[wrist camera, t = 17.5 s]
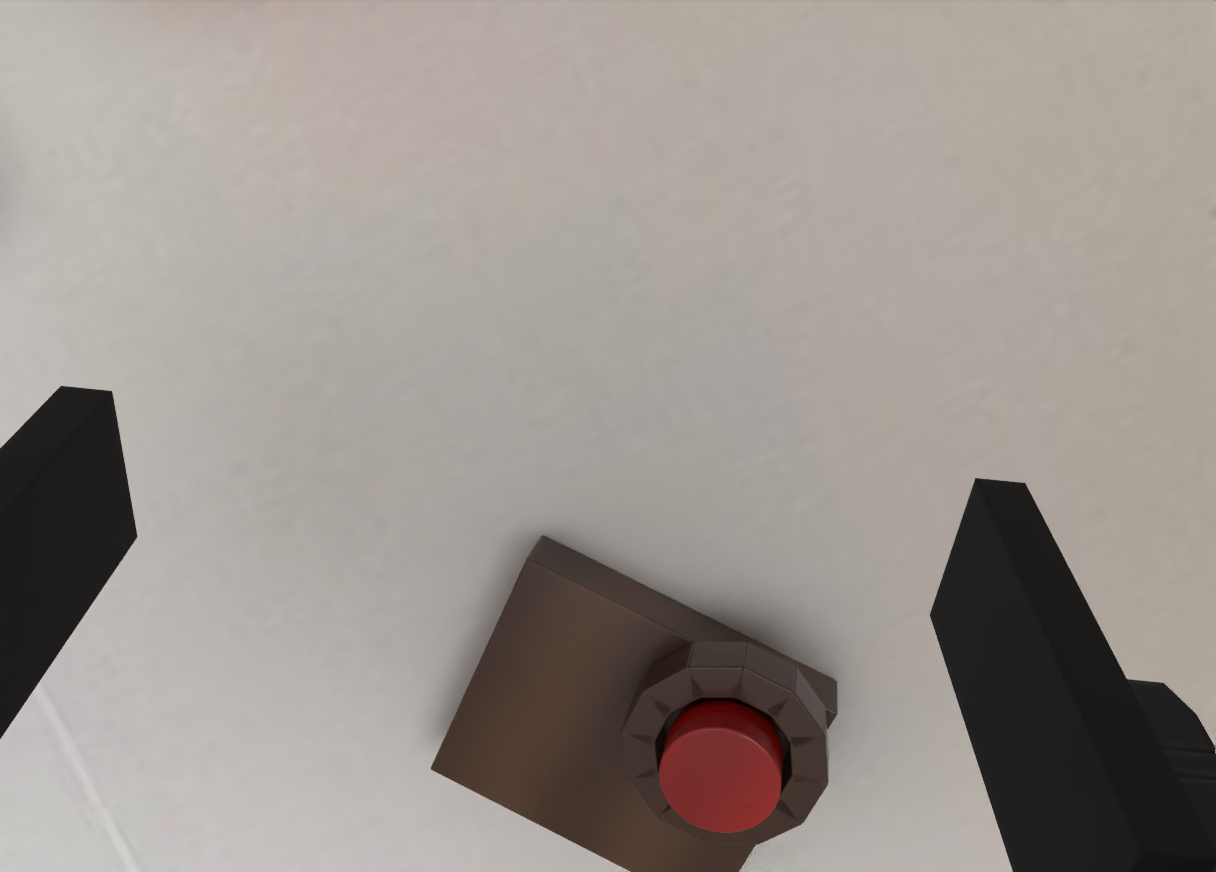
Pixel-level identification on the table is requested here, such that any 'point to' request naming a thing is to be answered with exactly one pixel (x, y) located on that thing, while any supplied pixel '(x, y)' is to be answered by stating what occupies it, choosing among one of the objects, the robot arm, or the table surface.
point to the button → (722, 766)
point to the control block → (623, 714)
